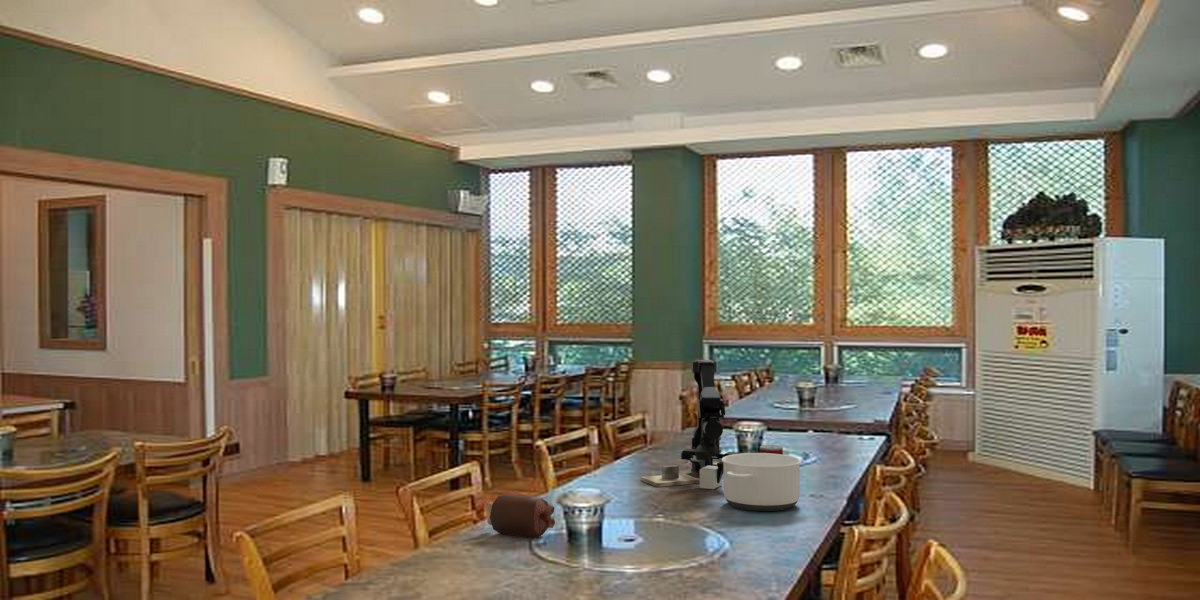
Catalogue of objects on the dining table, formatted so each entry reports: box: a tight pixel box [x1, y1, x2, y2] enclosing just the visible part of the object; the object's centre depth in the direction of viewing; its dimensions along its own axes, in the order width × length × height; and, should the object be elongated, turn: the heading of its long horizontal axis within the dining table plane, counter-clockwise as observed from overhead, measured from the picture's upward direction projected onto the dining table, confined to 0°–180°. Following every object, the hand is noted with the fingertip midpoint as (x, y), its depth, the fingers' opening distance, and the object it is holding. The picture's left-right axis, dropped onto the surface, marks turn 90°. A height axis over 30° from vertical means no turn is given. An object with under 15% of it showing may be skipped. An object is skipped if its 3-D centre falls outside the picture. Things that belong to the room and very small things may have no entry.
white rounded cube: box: [699, 465, 723, 490], centre depth 305 cm, size 8×5×6 cm, turn 153°
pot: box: [721, 452, 802, 512], centre depth 277 cm, size 33×23×14 cm
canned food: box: [759, 444, 784, 455], centre depth 318 cm, size 8×8×11 cm
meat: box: [486, 494, 556, 539], centre depth 243 cm, size 20×12×10 cm, turn 63°
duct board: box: [640, 464, 700, 488], centre depth 314 cm, size 16×12×5 cm
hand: (710, 482), depth 305 cm, fingers closed on white rounded cube, 5 cm apart
